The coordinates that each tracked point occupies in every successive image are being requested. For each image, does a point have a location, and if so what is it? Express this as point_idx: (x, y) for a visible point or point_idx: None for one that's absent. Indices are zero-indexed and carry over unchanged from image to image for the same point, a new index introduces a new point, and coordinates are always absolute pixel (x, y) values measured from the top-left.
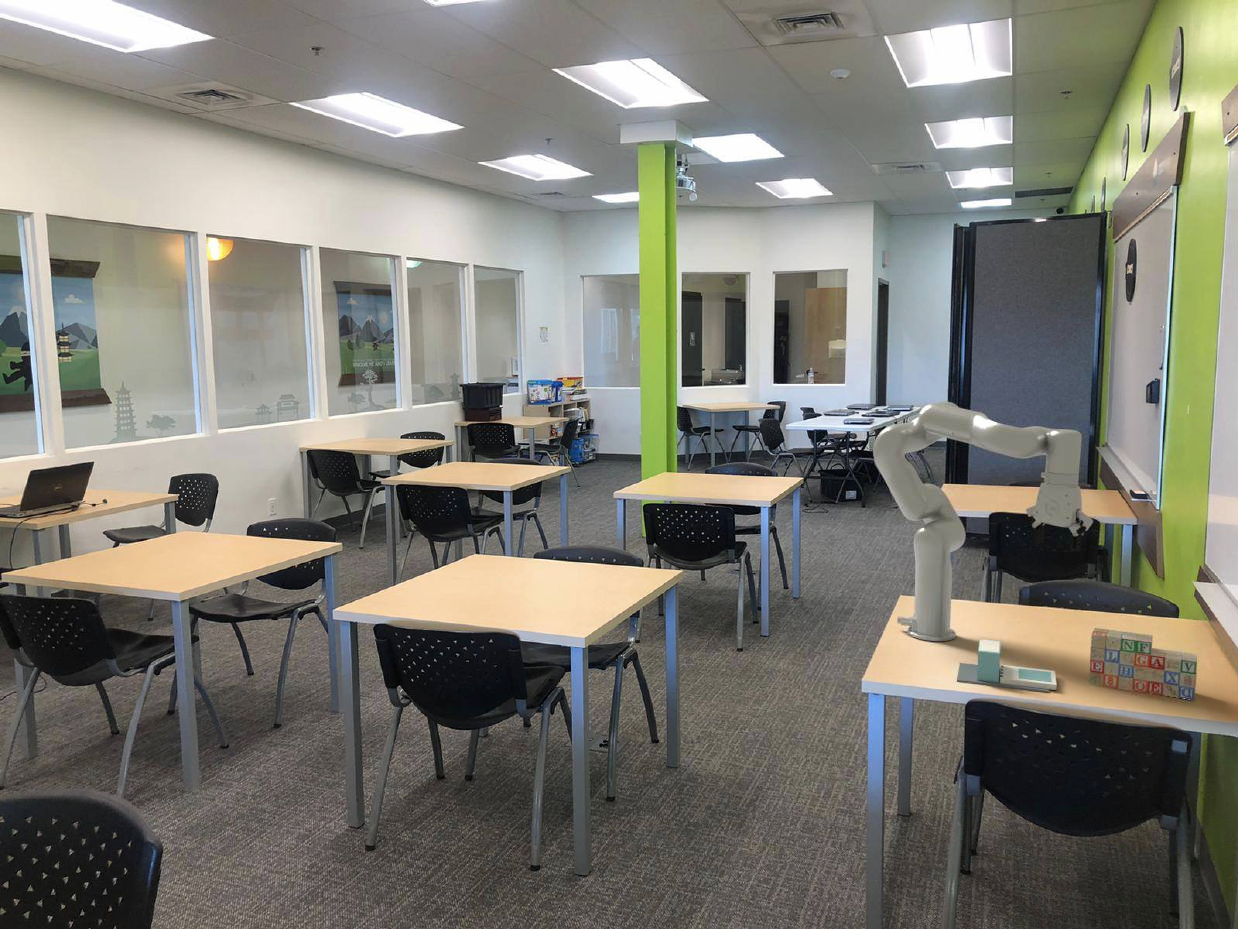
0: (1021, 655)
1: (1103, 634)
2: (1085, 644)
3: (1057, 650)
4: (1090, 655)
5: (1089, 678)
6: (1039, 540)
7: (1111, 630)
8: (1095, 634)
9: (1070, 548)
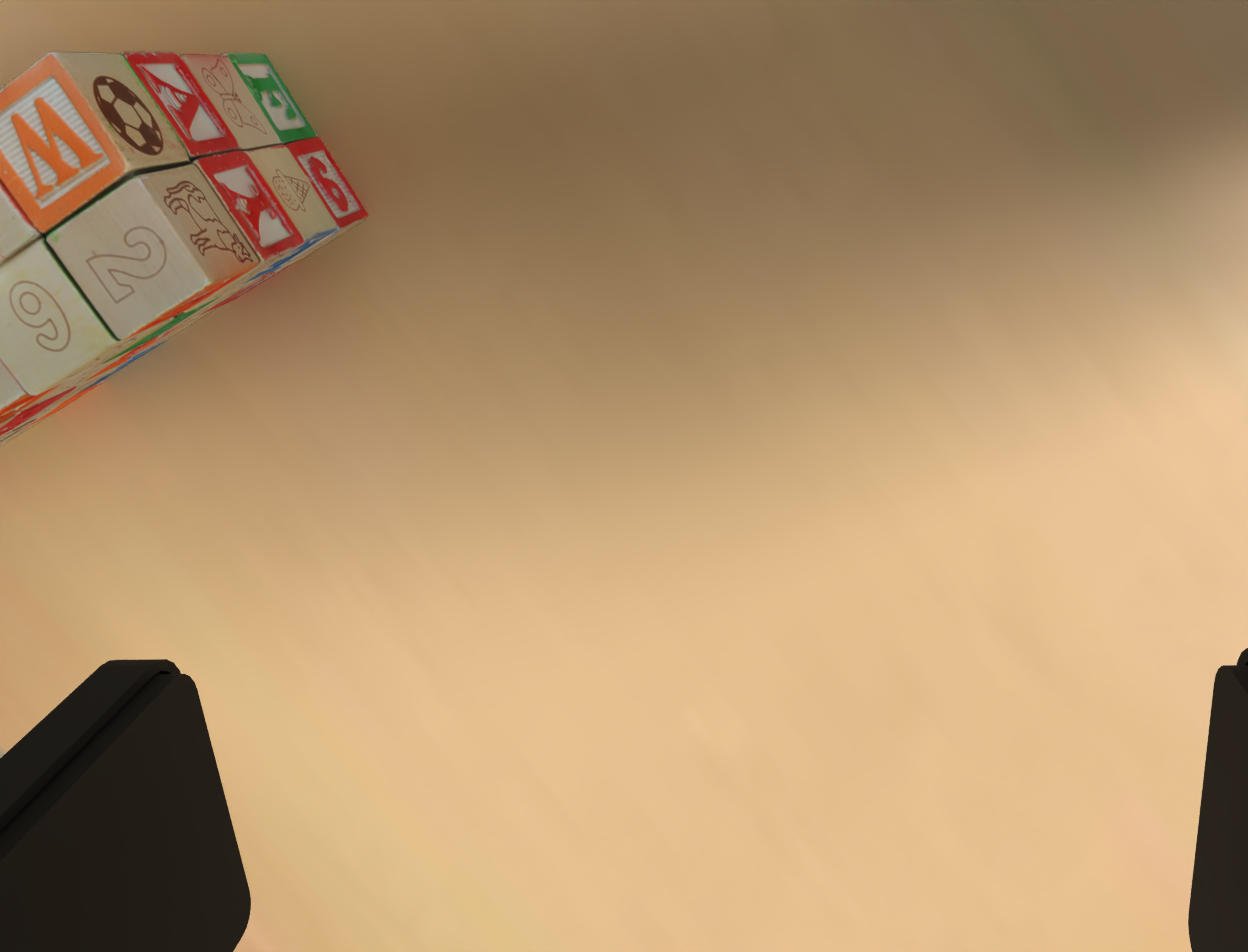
0: (923, 134)
1: (25, 167)
2: (828, 735)
3: (849, 475)
4: (162, 53)
5: (249, 53)
6: (1234, 823)
7: (84, 333)
8: (48, 96)
9: (102, 686)
